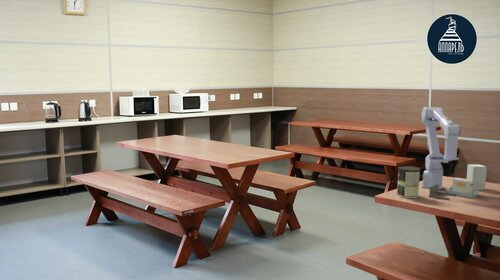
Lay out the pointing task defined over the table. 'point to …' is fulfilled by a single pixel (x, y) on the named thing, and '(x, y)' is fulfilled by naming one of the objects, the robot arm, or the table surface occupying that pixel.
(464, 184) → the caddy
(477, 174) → the supplement box
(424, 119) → the robot arm
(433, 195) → the dock
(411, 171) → the coffee can
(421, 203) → the table surface
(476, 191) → the tray
